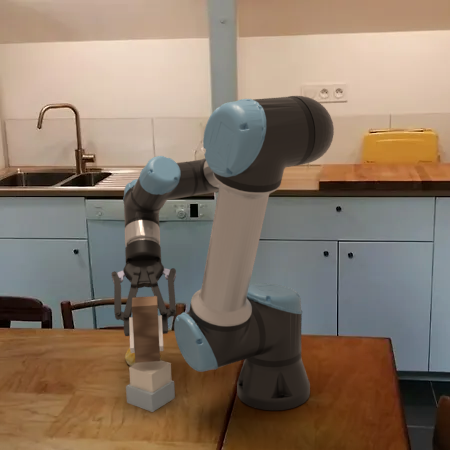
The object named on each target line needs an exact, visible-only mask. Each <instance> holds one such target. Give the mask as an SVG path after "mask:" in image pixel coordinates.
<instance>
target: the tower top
mask: <svg viewBox="0 0 450 450" xmlns="http://www.w3.org/2000/svg"><path fill="white" fill-rule="evenodd" d="M171 364H172V363H171V362H168V361H165V360H162V359H161V360H160V361H154V362H140V363H136V364H134V365H133V366H129V368H128V370H129V384H130V385H131V386H134V387H137V388H140V389H143V390H146V391H149V392H152V393H153V392H155V391H156V390H158V389H159V388H161V387H163V386H164V385H166V384H167V383H169V382H171V381H173V380H172V365H171Z"/></svg>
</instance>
